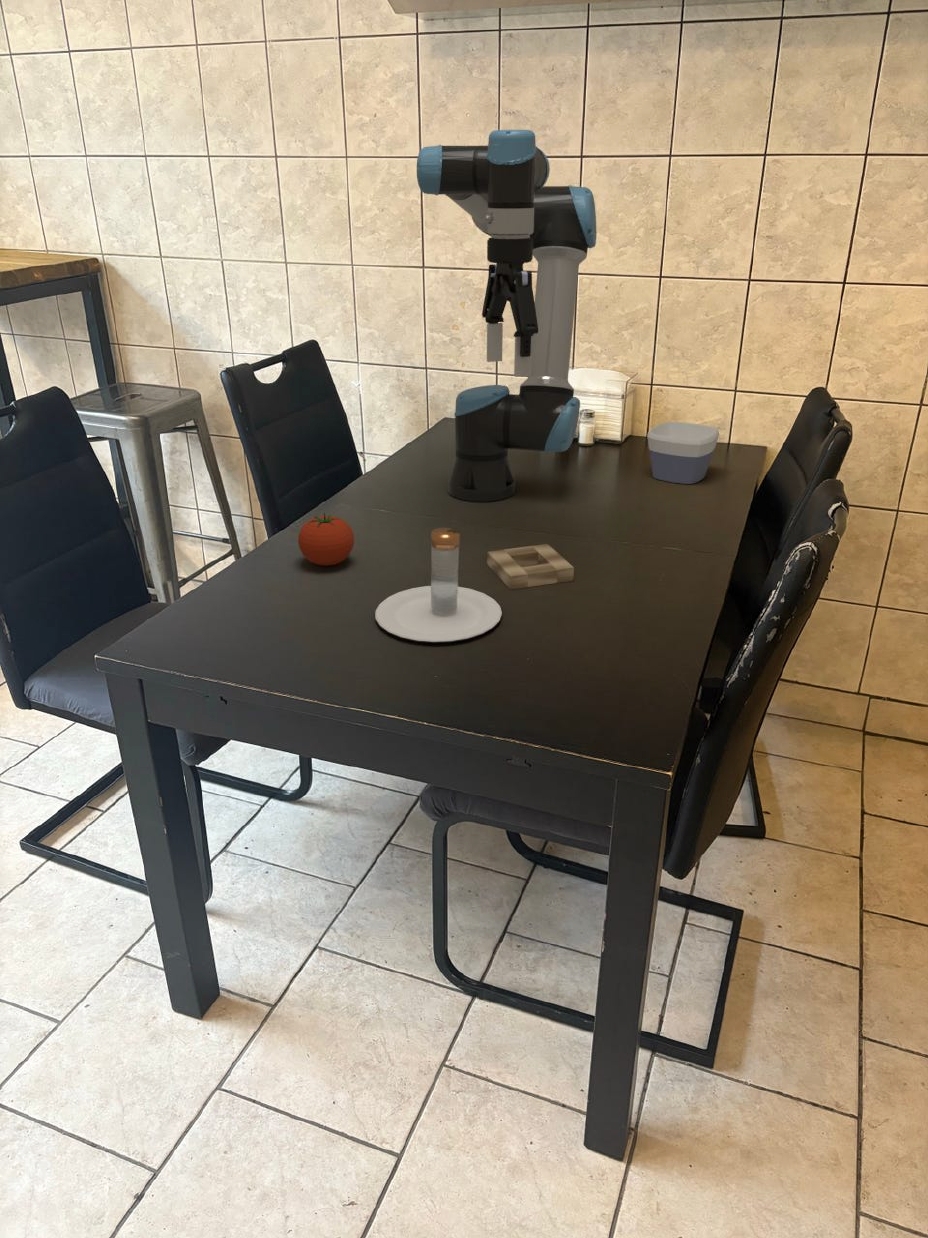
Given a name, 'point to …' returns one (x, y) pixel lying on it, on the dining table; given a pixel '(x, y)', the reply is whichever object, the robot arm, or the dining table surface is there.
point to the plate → (437, 616)
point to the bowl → (681, 451)
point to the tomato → (326, 540)
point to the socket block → (543, 572)
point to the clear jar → (444, 569)
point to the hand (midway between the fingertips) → (507, 368)
